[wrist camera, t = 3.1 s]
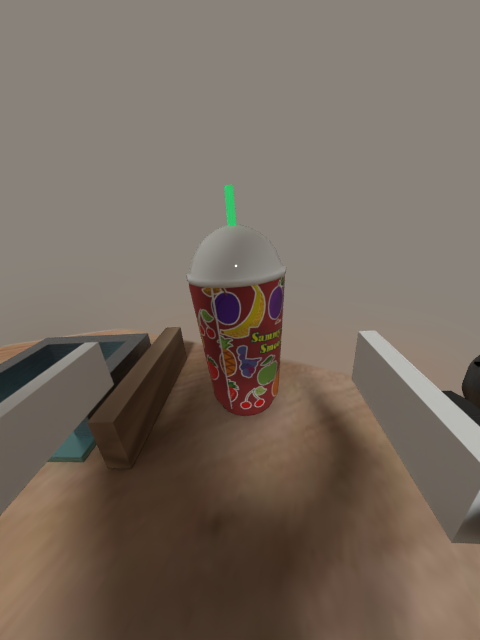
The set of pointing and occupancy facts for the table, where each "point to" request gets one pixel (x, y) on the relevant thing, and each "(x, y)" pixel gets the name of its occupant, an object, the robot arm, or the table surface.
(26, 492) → the table surface
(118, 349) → the keyed cradle
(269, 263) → the smoothie
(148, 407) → the walnut rail
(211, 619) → the table surface
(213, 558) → the table surface
